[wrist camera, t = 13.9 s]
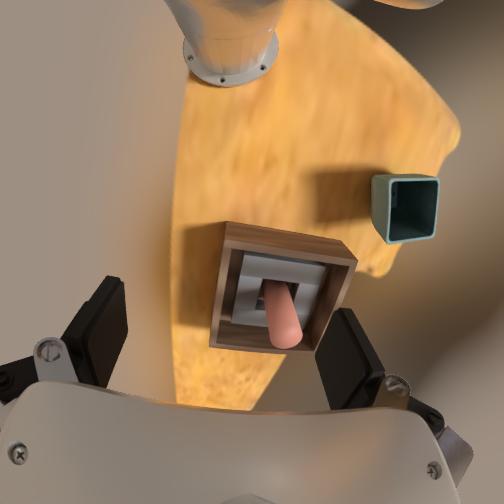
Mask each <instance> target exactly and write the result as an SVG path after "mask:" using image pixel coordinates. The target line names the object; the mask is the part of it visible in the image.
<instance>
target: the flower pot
mask: <svg viewBox="0 0 504 504" xmlns="http://www.w3.org/2000/svg"><path fill="white" fill-rule="evenodd" d="M439 189H440V180H439V178H438V177H433V176H427V175H422V174H386V175H374V176H373V177H372V178H371V219H372V223H373V225H374V227H375V229H376V230H377V232H378V233H379V234H380V236H381V237H382V238H383V240H384V241H385V242H386V244H388V245H391V244H397V243H403V242H409V241H416V240H422V239H430V238H433V237H434V235H435V230H436V222H437V211H438V200H439ZM392 192H394V195H392Z"/></svg>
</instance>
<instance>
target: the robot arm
mask: <svg viewBox="0 0 504 504" xmlns="http://www.w3.org/2000/svg"><path fill="white" fill-rule="evenodd" d="M164 1H165V3H166V4H167V6H168V7H169V9H170V10H171V12H172V14H173V15H174V17H175V19H176V21H177V23H178V24H179V26H180V28H181V30H182V32H183V33H184V35H185V39H184V43H183V55H184V58H185V62H186V63H187V65H188V67H189V68H190V70H191V71H192V72H193V73H194V74H195V75H196V76H197V77H198V78H200V79H202V80H203V81H205V82H207V83H210V84H213V85H216V86H222V87H236V86H242V85H245V84H249V83H251V82H253V81H255V80H257V79H259V78H260V77H262V76H263V75H264V74H266V73H267V71H268V70H269V69H270V68H271V67H272V65H273V64H274V62H275V60H276V58H277V54H278V50H279V41H278V38H277V34H276V32H275V29H276V26H277V24H278V22H279V20H280V17H281V15H282V13H283V10H284V8H285V6H286V4H287V0H164ZM376 1H379V2H383V3H386V4H389V5H393V6H397V7H402V8H408V9H423V8H428V7H432V6H434V5H436V4H438V3H440V2H442V1H443V0H376ZM191 58H193V60H192V61H190V59H191ZM261 67H263V68H264V70H261V69H260V68H261ZM221 80H224V82H220V81H221ZM127 334H128V325H127V315H126V304H125V290H124V283H123V282H122V281H121V280H120V278H118V277H114V276H106V277H105V279H104V280H103V282H102V283H101V284H100V286H99V287H98V288H97V290H96V291H95V293H94V294H93V295H92V297H91V298H90V299H89V301H86V302H85V303H84V304H83V306H82V307H81V309H80V310H79V311H78V313H77V314H76V316H75V317H74V319H73V320H72V321H71V323H70V325H69V326H68V327H67V329H66V330H65V332H64V334H63V335H62V337H61V338H60V339H58V338H54V337H49V338H45V339H42V340H41V341H39V342H38V343H37V344H36V345H35V347H34V350H33V356H30V357H27V358H24V359H21V360H17V361H14V362H11V363H8V364H5V365H1V366H0V504H460V500H459V497H458V493H457V490H456V488H457V486H458V484H459V483H460V481H461V479H462V477H463V476H464V474H465V472H466V470H467V468H468V467H469V465H470V463H471V461H472V459H473V450H472V447H471V446H470V445H469V444H468V443H467V442H466V441H464V440H463V439H462V438H461V437H460V436H459V435H458V434H457V433H455V432H454V431H453V430H452V429H451V428H450V427H449V426H447V427H446V428H445V427H444V418H443V416H442V415H441V414H440V413H439V412H438V411H437V410H435V409H433V408H432V407H430V406H428V405H426V404H424V403H422V402H420V401H418V400H417V399H415V398H413V397H411V396H410V392H411V389H410V386H409V384H408V383H407V382H406V381H405V380H404V379H403V378H401V377H400V376H397V375H387V376H385V374H384V372H385V369H384V367H383V365H382V363H381V361H380V360H379V358H378V356H377V354H376V352H375V350H374V348H373V347H372V345H371V344H370V341H369V340H368V337H367V336H366V334H365V332H364V330H363V328H362V327H361V325H360V323H359V322H358V320H357V318H356V316H355V314H354V313H353V311H352V309H350V308H338V309H337V310H335V311H334V312H333V314H332V316H331V319H330V321H329V323H328V326H327V328H326V330H325V332H324V335H323V337H322V339H321V341H320V343H319V346H318V348H317V350H316V352H315V360H316V363H317V366H318V370H319V372H320V376H321V379H322V383H323V386H324V389H325V392H326V396H327V399H328V402H329V406H330V409H331V410H328V411H308V412H307V411H306V412H265V411H263V412H262V411H243V410H229V409H218V408H208V407H200V406H192V405H185V404H178V403H172V402H166V401H160V400H155V399H149V398H145V397H140V396H135V395H130V394H126V393H122V392H118V391H114V390H110V389H106V387H107V385H108V382H109V379H110V377H111V374H112V371H113V369H114V366H115V364H116V361H117V359H118V356H119V354H120V352H121V349H122V347H123V344H124V342H125V340H126V337H127Z"/></svg>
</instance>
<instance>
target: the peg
mask: <svg viewBox="0 0 504 504" xmlns="http://www.w3.org/2000/svg"><path fill="white" fill-rule="evenodd" d="M262 293H263V299H264V305H265V311H266V317H267V323H268V329H269V335H270V341H271V343H272V344H273V345H274V346H275V347H277V348H281V349H287V348H291V347H293V346H295V345H297V344H298V343H299V342H300V341H301V339H302V336H303V334H302V330H301V327H300V324H299V321H298V317H297V314H296V311H295V308H294V305H293V301H292V298H291V295H290V292H289V289H288V286H287V283H286V281H279V280H272V279H265V280H264V281H263V283H262Z"/></svg>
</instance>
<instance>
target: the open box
mask: <svg viewBox="0 0 504 504" xmlns="http://www.w3.org/2000/svg"><path fill="white" fill-rule="evenodd" d="M357 263H358V260H357V258H356V257H355V256H354V255H353V254H352V253H351V251H350V250H349V249H348V248H347V247H346V246H345V245H344V243H343V242H342V241H340V240H335V239H329V238H324V237H318V236H313V235H307V234H301V233H296V232H290V231H284V230H278V229H272V228H267V227H261V226H254V225H248V224H242V223H236V222H229V221H226V227H225V233H224V239H223V245H222V252H221V258H220V264H219V271H218V277H217V284H216V291H215V297H214V304H213V311H212V319H211V329H210V339H209V347H212V348H220V349H229V350H238V351H248V352H260V353H273V354H289V355H313V356H315V352H316V350H317V348H318V346H319V343H320V341H321V339H322V337H323V335H324V332H325V330H326V328H327V326H328V323H329V321H330V319H331V316H332V314H333V312H334V311H335V310H337V309H338V308H340V306H341V304H342V301H343V299H344V297H345V294H346V291H347V289H348V287H349V284H350V282H351V279H352V276H353V274H354V271H355V269H356V266H357ZM265 279H272V280H279V281H286V283H287V286H288V289H289V292H290V295H291V298H292V301H293V305H294V308H295V311H296V314H297V317H298V321H299V324H300V327H301V330H302V334H303V336H302V339H301V341H300V342H299V343H298V344H297V345H295V346H293V347H291V348H287V349H281V348H277V347H275V346H274V345H273V344H272V343H271V341H270V335H269V329H268V323H267V317H266V311H265V305H264V299H263V293H262V283H263V281H264V280H265Z"/></svg>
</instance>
